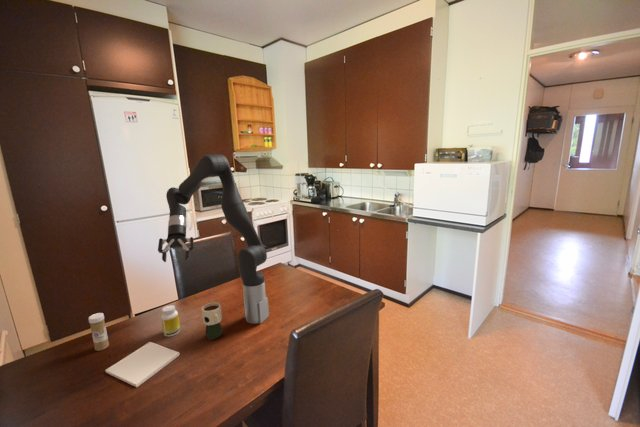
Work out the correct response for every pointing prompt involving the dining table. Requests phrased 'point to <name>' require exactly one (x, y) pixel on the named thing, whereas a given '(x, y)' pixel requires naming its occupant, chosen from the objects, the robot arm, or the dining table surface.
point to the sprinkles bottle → (98, 331)
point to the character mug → (212, 319)
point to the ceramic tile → (142, 363)
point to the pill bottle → (170, 321)
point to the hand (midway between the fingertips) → (175, 260)
